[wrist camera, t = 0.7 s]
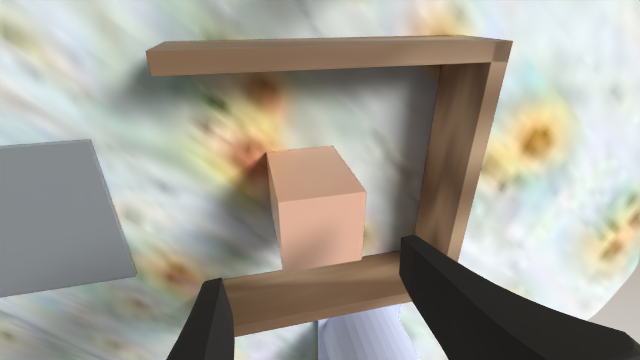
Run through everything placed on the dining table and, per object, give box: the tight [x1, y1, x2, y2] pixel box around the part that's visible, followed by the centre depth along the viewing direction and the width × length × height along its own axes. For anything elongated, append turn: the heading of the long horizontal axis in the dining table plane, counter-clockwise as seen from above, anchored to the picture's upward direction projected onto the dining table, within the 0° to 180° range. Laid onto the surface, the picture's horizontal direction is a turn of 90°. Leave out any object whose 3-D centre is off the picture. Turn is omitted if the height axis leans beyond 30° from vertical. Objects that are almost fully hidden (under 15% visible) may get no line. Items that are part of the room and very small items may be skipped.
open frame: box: [146, 35, 513, 337], centre depth 21 cm, size 18×18×4 cm
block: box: [266, 146, 366, 273], centre depth 20 cm, size 4×4×6 cm
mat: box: [0, 139, 137, 297], centre depth 20 cm, size 10×10×1 cm
